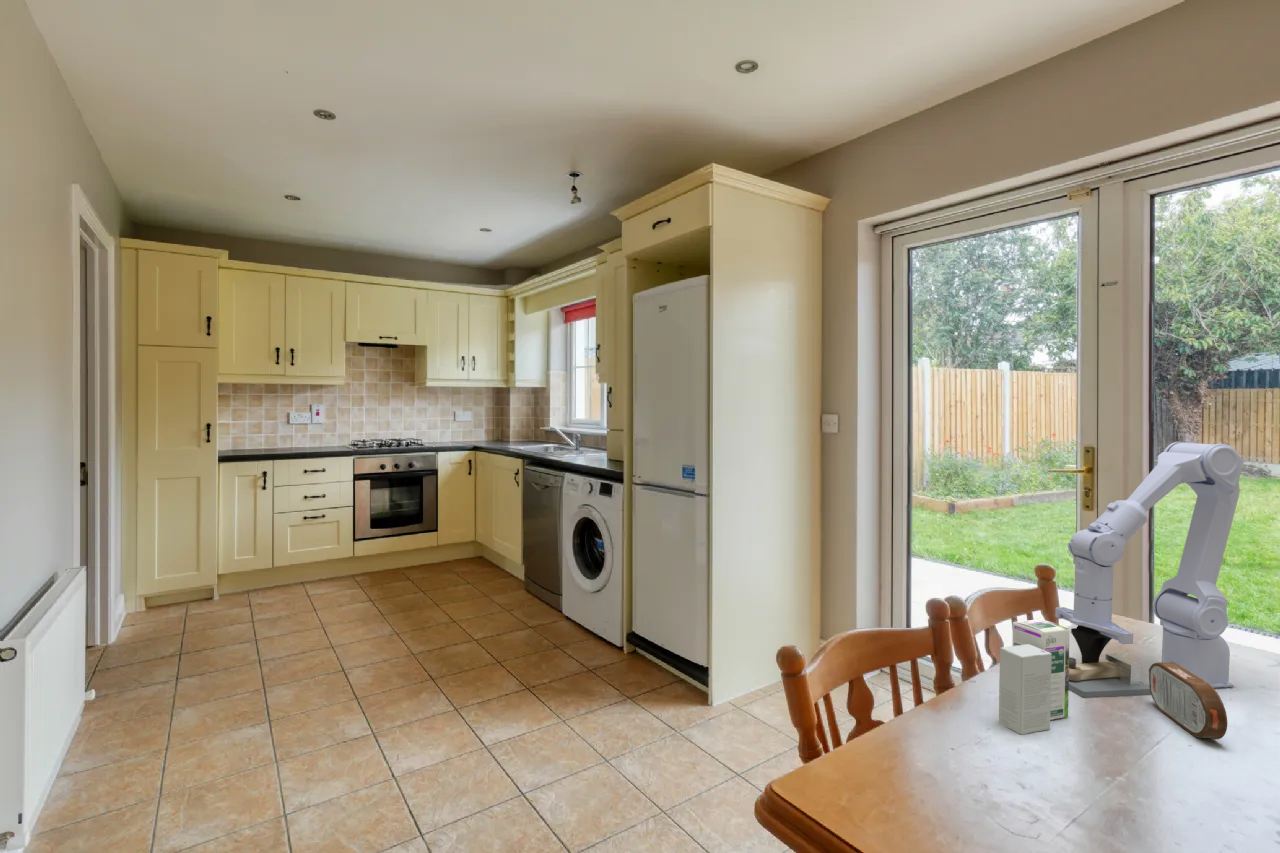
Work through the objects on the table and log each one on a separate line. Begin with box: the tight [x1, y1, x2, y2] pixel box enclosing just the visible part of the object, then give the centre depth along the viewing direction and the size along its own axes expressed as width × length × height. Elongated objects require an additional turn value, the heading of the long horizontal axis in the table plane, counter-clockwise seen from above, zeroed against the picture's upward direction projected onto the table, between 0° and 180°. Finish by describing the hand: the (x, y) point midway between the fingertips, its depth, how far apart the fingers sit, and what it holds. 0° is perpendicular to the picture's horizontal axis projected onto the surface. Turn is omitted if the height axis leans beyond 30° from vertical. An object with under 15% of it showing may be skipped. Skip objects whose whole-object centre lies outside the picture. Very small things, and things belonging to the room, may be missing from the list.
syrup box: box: [1011, 618, 1070, 721], centre depth 102 cm, size 6×6×14 cm
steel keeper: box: [1104, 653, 1142, 686], centre depth 113 cm, size 2×5×4 cm, turn 7°
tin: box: [1148, 661, 1228, 740], centre depth 99 cm, size 15×3×8 cm, turn 168°
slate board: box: [1068, 677, 1152, 699], centre depth 114 cm, size 14×11×1 cm
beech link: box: [1069, 656, 1121, 681], centre depth 114 cm, size 12×3×3 cm, turn 102°
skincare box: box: [998, 644, 1052, 735], centre depth 97 cm, size 6×4×12 cm
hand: (1090, 668), depth 116 cm, fingers closed, pressing on beech link
